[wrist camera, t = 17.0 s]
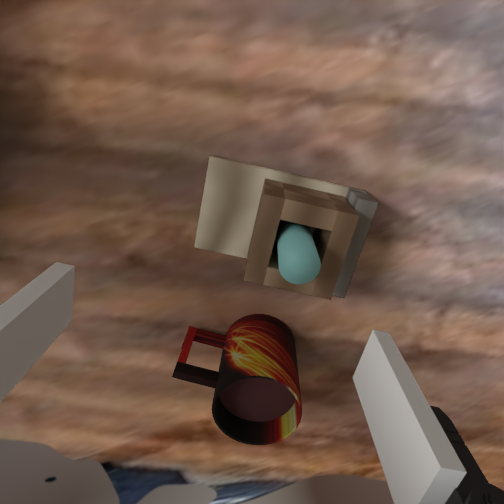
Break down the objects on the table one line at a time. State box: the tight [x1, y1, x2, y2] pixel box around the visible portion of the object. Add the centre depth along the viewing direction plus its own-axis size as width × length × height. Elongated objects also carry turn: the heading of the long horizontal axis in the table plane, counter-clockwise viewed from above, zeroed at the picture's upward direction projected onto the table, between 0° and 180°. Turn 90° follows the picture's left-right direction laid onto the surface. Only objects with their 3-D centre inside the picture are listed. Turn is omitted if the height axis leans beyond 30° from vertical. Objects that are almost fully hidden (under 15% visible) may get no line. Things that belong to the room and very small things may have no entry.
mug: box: [172, 314, 302, 445], centre depth 45 cm, size 10×14×12 cm
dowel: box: [277, 220, 321, 284], centre depth 37 cm, size 4×4×12 cm
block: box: [244, 178, 359, 300], centre depth 39 cm, size 9×9×8 cm
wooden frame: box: [194, 155, 378, 298], centre depth 41 cm, size 18×11×6 cm, turn 78°
